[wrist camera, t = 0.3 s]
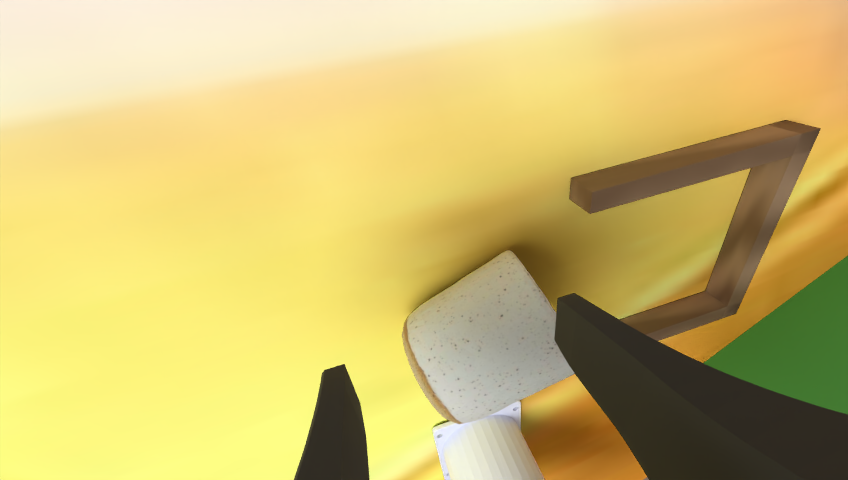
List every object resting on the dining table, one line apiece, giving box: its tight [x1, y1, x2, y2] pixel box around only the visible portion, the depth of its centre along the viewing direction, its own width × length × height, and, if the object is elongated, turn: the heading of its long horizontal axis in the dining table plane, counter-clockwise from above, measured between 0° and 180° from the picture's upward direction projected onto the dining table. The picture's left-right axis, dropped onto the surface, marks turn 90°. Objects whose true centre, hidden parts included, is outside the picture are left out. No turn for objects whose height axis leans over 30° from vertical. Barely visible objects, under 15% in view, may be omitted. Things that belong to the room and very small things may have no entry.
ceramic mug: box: [402, 250, 575, 424], centre depth 23 cm, size 11×8×8 cm
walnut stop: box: [569, 120, 821, 341], centre depth 27 cm, size 16×15×2 cm
